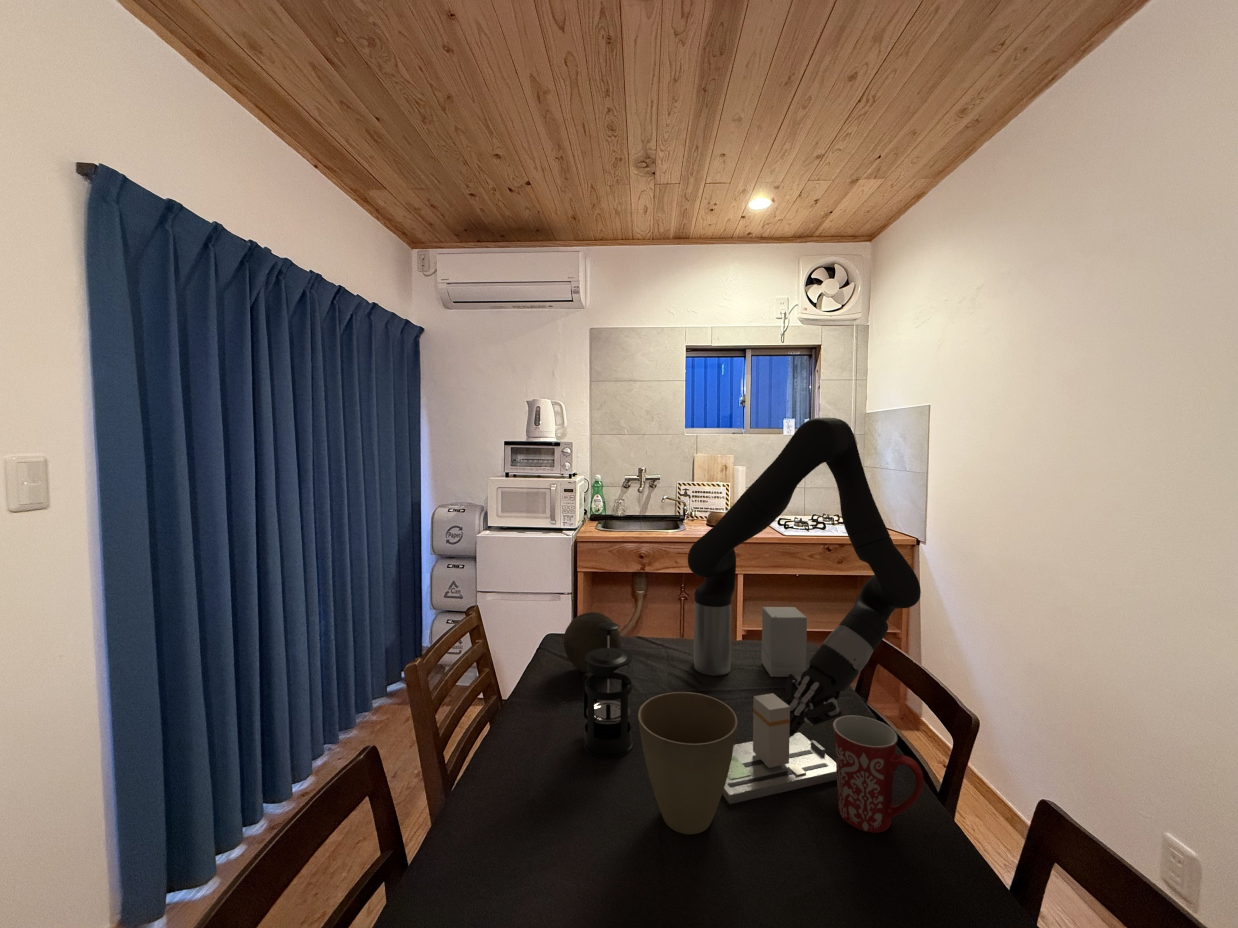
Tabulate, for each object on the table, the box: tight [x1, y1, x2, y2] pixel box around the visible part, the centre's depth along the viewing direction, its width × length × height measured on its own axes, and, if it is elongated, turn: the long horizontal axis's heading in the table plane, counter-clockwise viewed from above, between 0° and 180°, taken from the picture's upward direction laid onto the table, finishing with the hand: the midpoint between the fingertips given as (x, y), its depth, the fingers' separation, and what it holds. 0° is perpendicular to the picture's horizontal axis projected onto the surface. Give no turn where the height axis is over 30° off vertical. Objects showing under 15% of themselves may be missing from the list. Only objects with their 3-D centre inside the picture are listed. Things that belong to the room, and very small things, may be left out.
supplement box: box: [761, 606, 808, 678], centre depth 131 cm, size 9×9×15 cm
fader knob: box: [752, 693, 790, 768], centre depth 90 cm, size 5×4×10 cm
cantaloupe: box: [563, 611, 622, 674], centre depth 128 cm, size 14×14×15 cm
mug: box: [832, 714, 925, 834], centre depth 77 cm, size 13×9×14 cm
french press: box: [583, 622, 634, 760], centre depth 98 cm, size 12×9×23 cm
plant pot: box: [637, 691, 739, 835], centre depth 78 cm, size 15×15×16 cm
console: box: [722, 732, 837, 805], centre depth 90 cm, size 12×22×2 cm, turn 107°
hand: (783, 733), depth 91 cm, fingers closed
